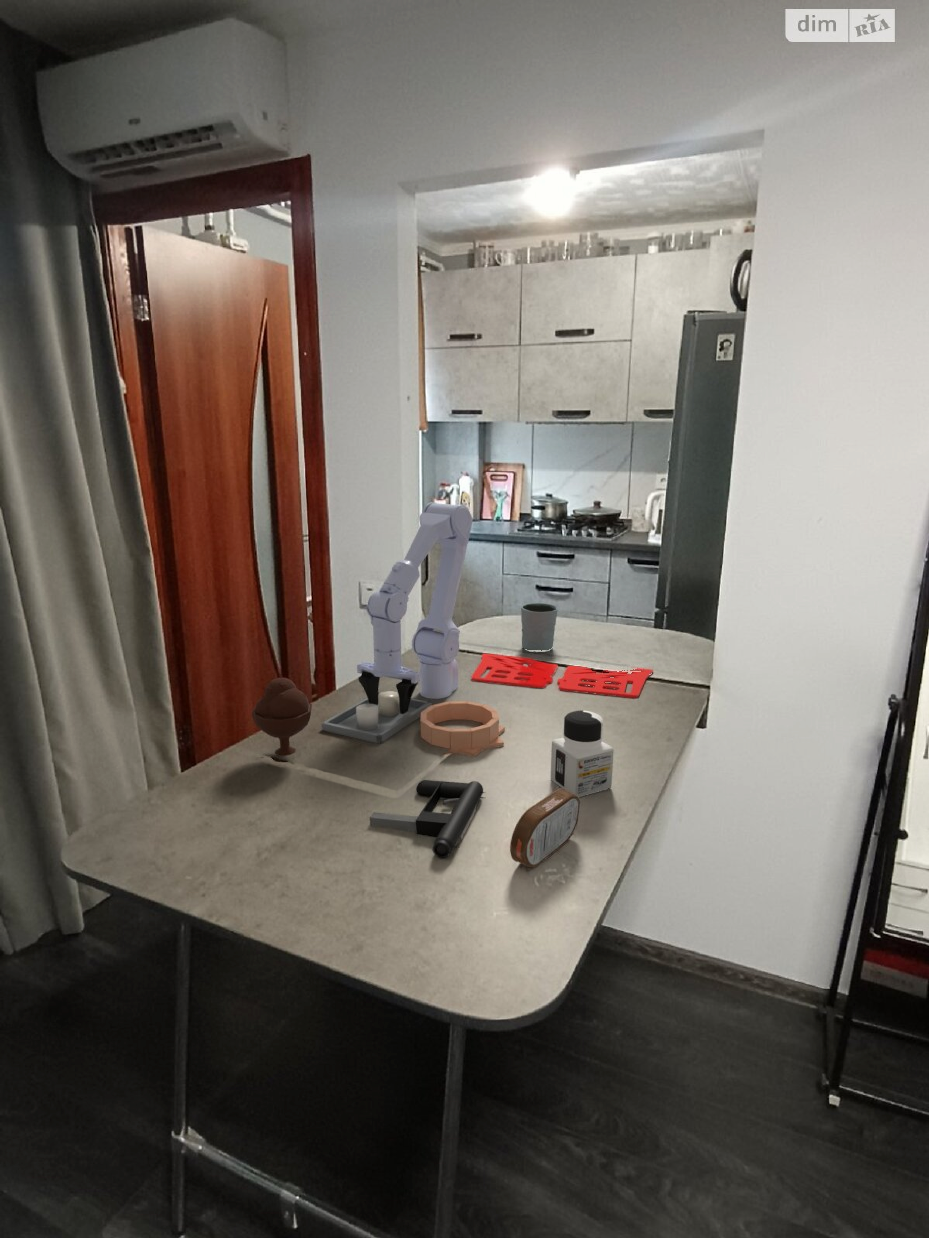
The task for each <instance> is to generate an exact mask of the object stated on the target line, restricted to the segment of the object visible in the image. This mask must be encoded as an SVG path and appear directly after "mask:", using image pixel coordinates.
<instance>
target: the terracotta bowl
mask: <svg viewBox="0 0 929 1238" xmlns="http://www.w3.org/2000/svg"><path fill="white" fill-rule="evenodd" d="M449 720H452V721H454V720H468V721H472V722H473V721H474V722H478V723H480V724H479V725H478V726H475V727H471V728H448V727H445V726H444V727H443V726H440V725H436V724H437V723H441V722H446V721H449ZM499 722H500V718H499V714H498V711H497V710H496V709H494V708H492V707H491V706H488V705H487V704H485V703H479V702H473V701H469V700H468V701H467V700H465V701H463V700H462V701H461V700H460V701H459V700H458V701H452V700H451V701H445V702H440V703H436V704H432V705H431V706H429V707H428V708H426V709H425V710H423V711H422V712H421V717H420V738H422V739H423V740H425V741H426V742H427V743H428V744H430V745H432V746H437V747H441V748H445V749H447V751H446V752H444V753H443V755H448V754H459V755H460V754H461V755H464V756H467V757H468V756H469V757H474V758H476V757H477V756H478V755H479V754H480V753H481V752H482V751H484V749H485V750H488V749H491V748H492V749H493V747H494V748H500V746H501V747H504V746H505V742H504V741H503V740H502V739H501V738H500V735H502V734H503V733H504V732H505V730H506V727H505V726H503V725H500V723H499ZM502 732H503V733H502ZM501 733H502V734H501Z"/></svg>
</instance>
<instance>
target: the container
mask: <svg viewBox="0 0 929 1238" xmlns="http://www.w3.org/2000/svg"><path fill="white" fill-rule="evenodd" d="M603 730H604V719H603V717H602V716H601V715H600V714H598V713H595V712H593V711H590V710H581V709H580V710H575V711H570V712H568V713H566V715H565V716H564V718H563V737H561V738H560V737H559V738H555V739H552V741H551V750H550V752H551V753H550V754H551V755H550V756H551V757H550V780H551V781H552V782H553V783H554V784H556V785H557V786H558V787H560V788H562V789H565V790H566V791H568V792H570V793H572V794H574V795H576V796H577V797H578V798H579V799H580V798H581V797H586V796H589V795H588V794H590V795H593V794H596V792H597V793H599V792H598V791H600V792H603V791H602V790H604V791H607V790H606V789H608V788H610V789H611V788H612V783H613V782H612V780H613V766H614V765H613V764H614V751H615V750H614V747H612V746H611V745H609V744H607V743H606V742H604V741H603V734H604V731H603ZM608 790H609V789H608ZM585 795H586V796H585Z"/></svg>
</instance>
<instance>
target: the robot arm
mask: <svg viewBox="0 0 929 1238" xmlns="http://www.w3.org/2000/svg"><path fill="white" fill-rule="evenodd" d="M418 520H419V525H420V526H419V528H418V530H417V532H416V535H415V536H414V539H413V541H412V543H411V545H410V546H409V548H408V551H407V553H406V554H405V557H404V559H403V560H399V561H396V562H395V564H393V566H391V570H390V572H389V574H388V575H387V577H386V579H385V580H384V582H383V584H382V586H381V587H380V588H379V590H377V591H376V592H374V593H372V594H371V595H370V596H369V598H368V599H367V601H368V602H367V605H366V606H365V609H366V610H365V611H366V612H367V615H368V616H369V618H370V624H371V626H372V631H373V635H372V637H373V662H364V661H362V662H360V663H357V664H356V669H357V670H356V671H357V674H361V675H360V676H358V679H357V680H358V682H359V684H360V685H361V687H362V689H363V690H364V692H365V694H366V698H368V701H369V704H375V705H378V692H379V685H380V681H381V680H380V678H383V677H385V678H391V679H396V680H401V681H399V682H398V683H396V684H395V687H396V691H397V693H398V695H399V706H400V714H404V713H406V712H407V711H408V708H409V704H410V700H411V698H412V696H413V693H414V692H415V689H416V687H417V686H418V684H419V694H420V696H421V697H424V698H426V699H435V700H436V699H444V698H447V697H449V696H451V695H452V693H453V692H454V691H456V690H458V689H459V664H458V662H457V660H456V657H457V656H458V653H459V651H460V640H459V639H460V632H461V631H460V629H459V628H458V627H457V625H456V624H455V623H454V621H453V615H454V612H455V608H456V607H455V606H456V601H457V597H458V592H459V587H460V583H461V577H462V572H463V567H464V563H465V559H466V552H467V550H468V549H467V548H468V543H469V541H470V540H469V539H470V536H471V535H470V534H471V530H472V527H473V526H472V525H473V520H474V519H473V517H472V514H471V511H470V510H469V508H468V506H466V505H465V504H451V503H450V504H449V503H447V504H446V503H437V502H435V501H433V502H432V501H431V502H429V503H426V505H425V506H424V507H423V510H422V512H421V513H420V515H419V519H418ZM436 542H438V543H439V544H440V546H441V553H440V556H439V557H440V559H439V562H438V568H437V571H436V577H435V582H434V586H433V593H432V597H431V601H430V602H431V603H430V605H429V611H428V615H427V616H426V617H424V618H423V619H421V620H420V621H419V622H418V624H417V629H416V631H415V633H414V634H413V636H412V640H411V648H412V651H413V653H414V654H415V655H416V657H417V658H416V659H417V660H419V671H415V670H413V669H410V668H409V667H405V666H402V665H403V664H402V628H401V627H402V623H401V620H402V619H403V617H405V616H406V614H407V611H408V603H409V599H410V598H409V595H410V594H411V592H412V591H413V589H414V587H415V585H416V583H417V582H418V580H419V578H420V576H421V575H420V570H419V567H420V566H421V565H422V562H424V560H425V558H426V557H427V556H428V554H429V552H431V550H432V548H433V547H434V545H435V544H436ZM436 630H438V631H436ZM440 631H441V632H440Z"/></svg>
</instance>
